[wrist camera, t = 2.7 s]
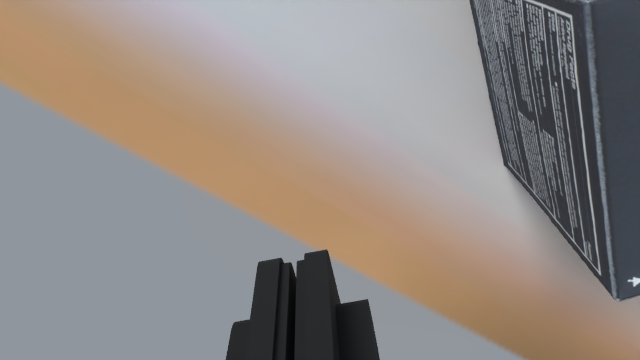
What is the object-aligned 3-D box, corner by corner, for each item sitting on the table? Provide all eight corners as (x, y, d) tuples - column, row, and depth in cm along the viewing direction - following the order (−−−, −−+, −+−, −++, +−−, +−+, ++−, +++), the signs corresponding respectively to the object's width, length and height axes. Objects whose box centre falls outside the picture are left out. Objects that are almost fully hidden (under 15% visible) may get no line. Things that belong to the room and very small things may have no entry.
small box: (630, 127, 24) (822, 257, 15) (502, 167, 25) (608, 312, 16) (615, -99, 19) (887, -110, 10) (458, -36, 20) (574, 4, 11)
